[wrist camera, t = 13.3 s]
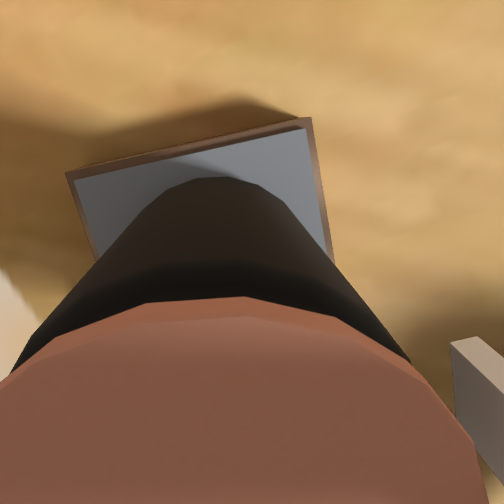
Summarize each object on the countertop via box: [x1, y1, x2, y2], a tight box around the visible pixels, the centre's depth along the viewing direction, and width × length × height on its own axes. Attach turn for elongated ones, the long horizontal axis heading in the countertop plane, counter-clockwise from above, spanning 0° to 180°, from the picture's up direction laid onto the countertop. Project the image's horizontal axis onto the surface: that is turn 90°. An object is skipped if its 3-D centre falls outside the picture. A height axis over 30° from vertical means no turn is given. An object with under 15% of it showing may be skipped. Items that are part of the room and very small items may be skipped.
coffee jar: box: [0, 176, 489, 504], centre depth 16 cm, size 11×11×18 cm
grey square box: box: [65, 117, 335, 265], centre depth 27 cm, size 14×14×4 cm
